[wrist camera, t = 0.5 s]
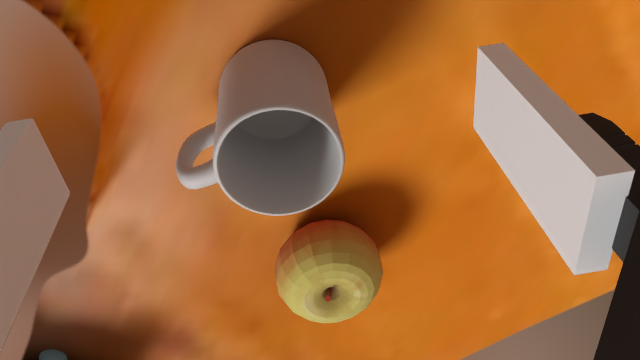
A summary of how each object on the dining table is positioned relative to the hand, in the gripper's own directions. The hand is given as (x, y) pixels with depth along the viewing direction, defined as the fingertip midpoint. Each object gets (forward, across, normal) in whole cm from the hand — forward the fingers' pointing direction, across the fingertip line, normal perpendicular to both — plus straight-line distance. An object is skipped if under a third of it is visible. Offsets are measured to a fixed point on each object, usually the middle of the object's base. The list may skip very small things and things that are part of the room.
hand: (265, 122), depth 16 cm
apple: (+25, +2, -28) cm, 38 cm away
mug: (+25, -2, -12) cm, 28 cm away
